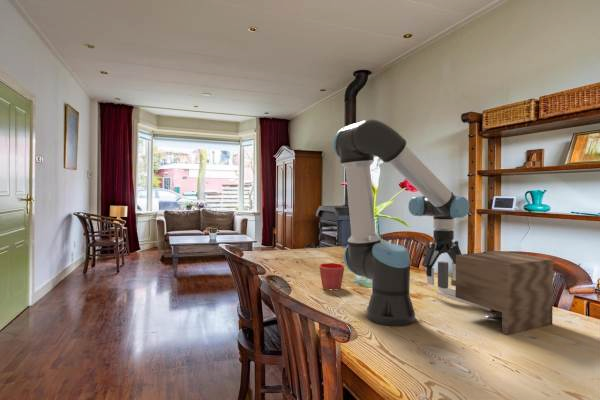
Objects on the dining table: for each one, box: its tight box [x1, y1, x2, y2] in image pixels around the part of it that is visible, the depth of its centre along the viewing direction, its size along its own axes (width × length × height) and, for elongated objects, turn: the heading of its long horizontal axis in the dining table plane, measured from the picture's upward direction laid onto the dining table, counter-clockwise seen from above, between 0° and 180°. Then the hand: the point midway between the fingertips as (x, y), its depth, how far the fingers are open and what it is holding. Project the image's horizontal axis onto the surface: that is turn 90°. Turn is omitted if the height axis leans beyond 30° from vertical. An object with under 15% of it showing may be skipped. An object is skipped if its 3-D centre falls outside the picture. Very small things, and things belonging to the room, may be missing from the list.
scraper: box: [436, 260, 497, 312], centre depth 133 cm, size 3×24×13 cm, turn 25°
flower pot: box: [319, 262, 345, 291], centre depth 152 cm, size 11×11×10 cm
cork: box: [450, 261, 456, 287], centre depth 158 cm, size 6×6×11 cm
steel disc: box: [484, 313, 502, 322], centre depth 115 cm, size 5×5×1 cm
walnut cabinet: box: [455, 250, 554, 336], centre depth 113 cm, size 21×18×20 cm
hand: (443, 282), depth 143 cm, fingers open, 13 cm apart
